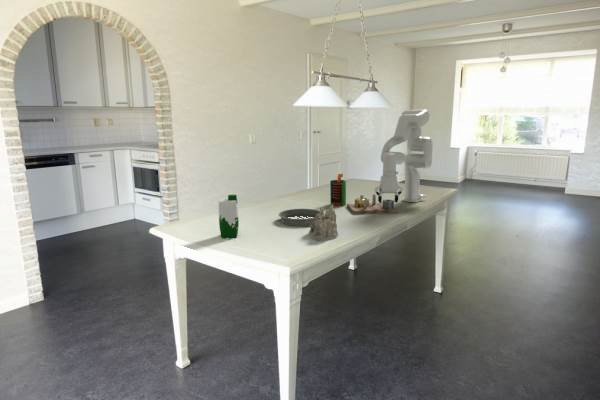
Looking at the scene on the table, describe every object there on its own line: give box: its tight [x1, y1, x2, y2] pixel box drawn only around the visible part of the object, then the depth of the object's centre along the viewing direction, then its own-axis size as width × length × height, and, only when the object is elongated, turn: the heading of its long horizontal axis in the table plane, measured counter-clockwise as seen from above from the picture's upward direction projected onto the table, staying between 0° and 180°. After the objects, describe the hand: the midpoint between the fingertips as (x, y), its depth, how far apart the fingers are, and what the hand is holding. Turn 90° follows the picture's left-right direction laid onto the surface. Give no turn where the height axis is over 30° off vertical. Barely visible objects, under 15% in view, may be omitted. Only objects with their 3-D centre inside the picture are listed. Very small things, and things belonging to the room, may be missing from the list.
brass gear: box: [354, 197, 370, 207], centre depth 253 cm, size 9×9×4 cm
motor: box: [329, 173, 347, 207], centre depth 264 cm, size 10×9×20 cm
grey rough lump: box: [308, 204, 339, 242], centre depth 196 cm, size 16×16×15 cm
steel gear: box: [382, 199, 395, 209], centre depth 245 cm, size 7×7×4 cm
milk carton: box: [218, 194, 239, 239], centre depth 196 cm, size 9×9×20 cm
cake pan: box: [278, 208, 320, 227], centre depth 225 cm, size 25×25×4 cm
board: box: [346, 193, 398, 215], centre depth 249 cm, size 26×20×8 cm
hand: (388, 202), depth 245 cm, fingers open, 9 cm apart
